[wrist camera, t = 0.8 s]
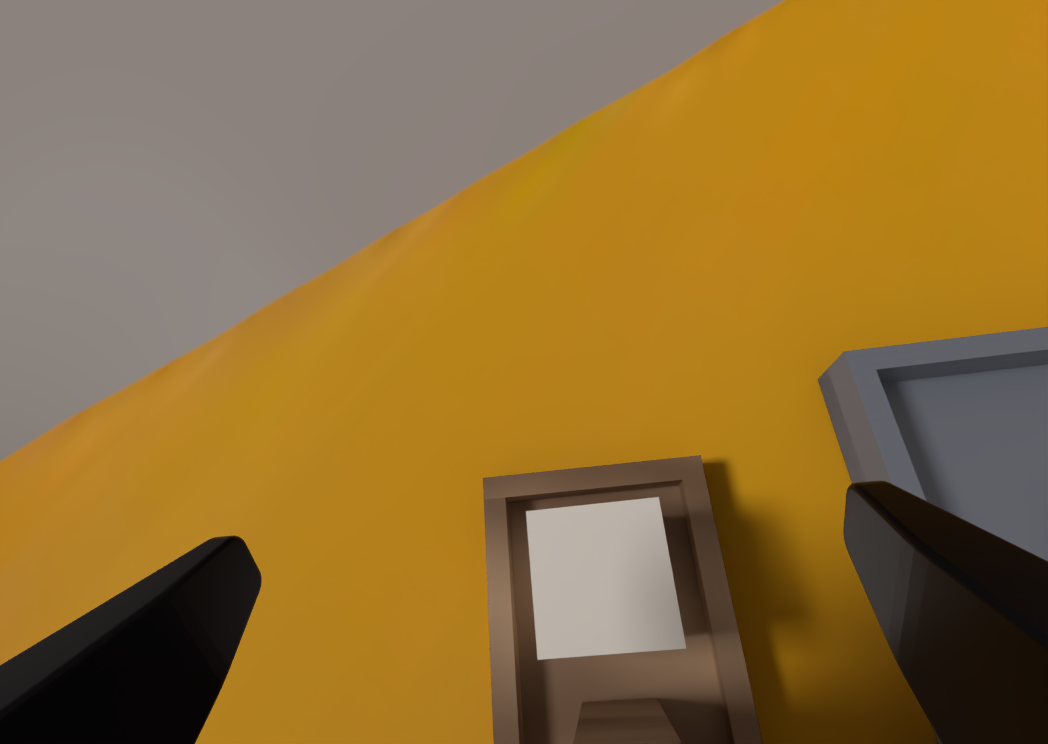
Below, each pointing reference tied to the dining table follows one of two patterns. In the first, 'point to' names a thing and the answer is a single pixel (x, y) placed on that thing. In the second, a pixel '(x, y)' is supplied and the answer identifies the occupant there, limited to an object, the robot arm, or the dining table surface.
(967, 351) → the tray
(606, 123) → the dining table surface
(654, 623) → the cream block
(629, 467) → the caddy
